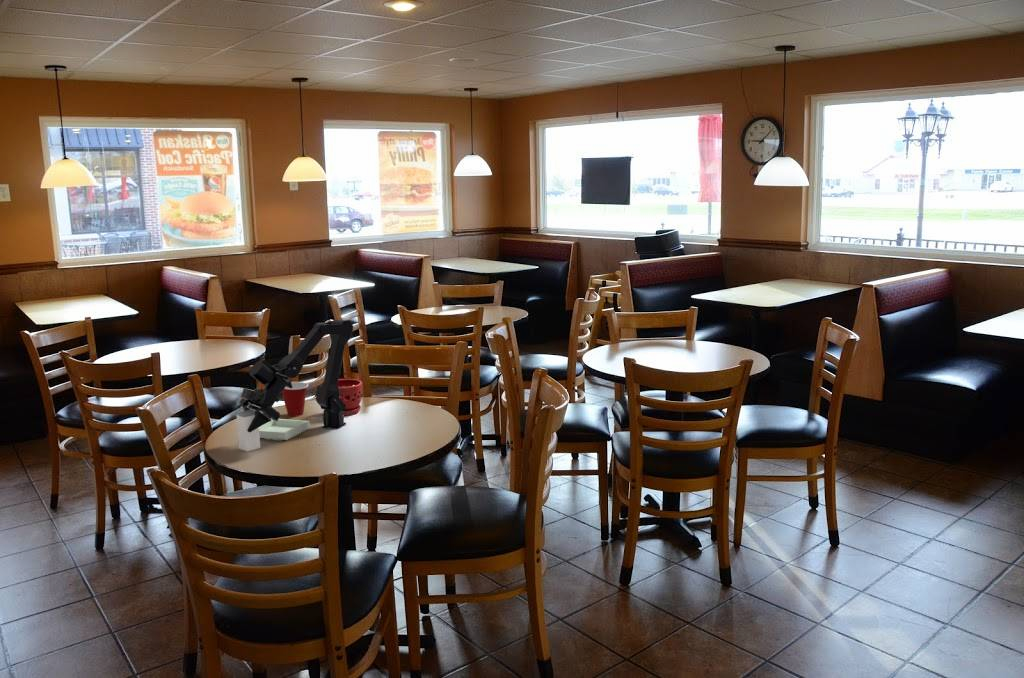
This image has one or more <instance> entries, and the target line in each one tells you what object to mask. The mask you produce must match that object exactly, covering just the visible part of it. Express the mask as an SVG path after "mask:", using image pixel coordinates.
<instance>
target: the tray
mask: <svg viewBox="0 0 1024 678" xmlns="http://www.w3.org/2000/svg"><path fill="white" fill-rule="evenodd" d="M270 420H271V422H270V421H269V422H267V423H266V424H264V425H262V426H260V427H259V436H260V438H265V439H264V440H270V439H275V440H274V441H282V440H287V441H288V439H289V440H290V438H291V439H293V438H294V437H296V436H298V435H300V434H302V433H303V431H304V432H305V430H306V431H307V429H308V430H309V428H310V427H311V426H310V420H299V419H286V418H279V419H278V421H274V420H272V418H270ZM301 432H302V433H301ZM299 433H300V434H299ZM297 434H298V435H297ZM292 437H293V438H292Z"/></svg>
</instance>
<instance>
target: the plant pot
mask: <svg viewBox="0 0 1024 678" xmlns="http://www.w3.org/2000/svg"><path fill="white" fill-rule="evenodd" d="M338 388H339V392H340V397H339V399H340V400H341V401H342V402H343V403H344V404H346V408H345V410H344V411H343V416H347V415H348V416H350V415H354V414H357V413H358V412H360V410H361V408H362V407H361V401H362V399H363V398H362V397H363V381H361V380H359V379H356V378H355V379H354V378H339V379H338Z"/></svg>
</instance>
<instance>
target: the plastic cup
mask: <svg viewBox="0 0 1024 678" xmlns="http://www.w3.org/2000/svg"><path fill="white" fill-rule="evenodd" d="M291 384H292V388H287V387H285V389H284V390H283V391H282V393H281V395H282V396H283V397H282V398H283V401H284V406H285V408H286V412H287V416H289V417H299V415H300V416H302V415H304V411H305V402H306V396H307V395H306V394H307V390H308V387H309V384H308V383H307V382H303V381H291Z"/></svg>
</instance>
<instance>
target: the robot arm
mask: <svg viewBox="0 0 1024 678" xmlns="http://www.w3.org/2000/svg"><path fill="white" fill-rule="evenodd" d="M353 331H354V324H353V323H352V322H351V321H349V320H347V319H341V318H335V319H333V320H332V321H325V322H316V323H315V324H314V325H313V327H312V329H311V330H310V331H309V332H308V334H307V335H306V336H305V337H304V338H303V340H302V341H301V342H300V343H299V344H298V345H297V346H296V348H295V349H294V350H293V351H292V352H291V353H289V354H287V355H285V356H284V357H283V358H281V359H280V360H279V361H278V363H277V364H274V365H271V364H270V363H269V362H268V361H267V360H266V359H264V358H261V359H260V360H259V361H257V362H256V363H255V364H253V365H252V366H251V367H250V369H249V372H248V373H249V375H250V376H251V377H252V378H254V379H255V380H256V381H257V382H258V383H260V384H261V385H265V386H264V387H263V388H254V389H250V388H245V387H244V388H243V389H242V392H241V396H240V397H241V399H240V400H239V402H238V404H239V405H240V406H241V407H242V409H243V411H246V410H253V411H255V417H254V419H253V421H252V423H251V424H250V426H249V428H248V430H247V431H248V432H252V431H253V430H255V429H257V428H258V427H260V426H262V425H264V424H266V423H267V422H269V421H270V422H271V419H272V420H274V421H278V419H281V413H280V412H279V411H278V410H276V409H275V408H274V407H273V406H274V404H275V403H279V401H280V399H279V397H280V396H281V395H282V391H283V390H284V389H285V387H287V388H292V384H291V382H292V380H291V379H293V378H294V379H295V378H297V376H299V374H300V372H301V370H302V369H303V367H304V363H305V361H306V359H307V357H309V355H310V354H311V352H313V351H314V349H315V348H316V347H317V345H318V344H319V343H320V342H321V340H322V339H323V338H324V337H325V336H326V335H329V338H330V341H331V344H330V345H331V346H330V350H329V355H328V361H327V365H326V371H325V375H324V380H323V382H322V384H321V385H316V392H315V394H314V397H315V401H316V403H317V404H318V406H319V407H320V409H321V410H323V414H322V423H323V425H322V427H321V428H322V429H336V430H337V429H340V428H342V427H344V426H345V425H347V422H345V421H344V420H345V419H344V415H343V411H344V410H345V408H346V404H344V403H343V402H342V401H341V400H340V399H339V397H340V392H339V388H338V379H340V378H339V377H340V374H341V370H342V369H341V368H342V364H343V358H344V354H345V353H344V352H345V348H346V345H347V343H348V342H349V341H350V340H351V337H352V335H353ZM278 375H279V376H278ZM286 378H290V379H286Z"/></svg>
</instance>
